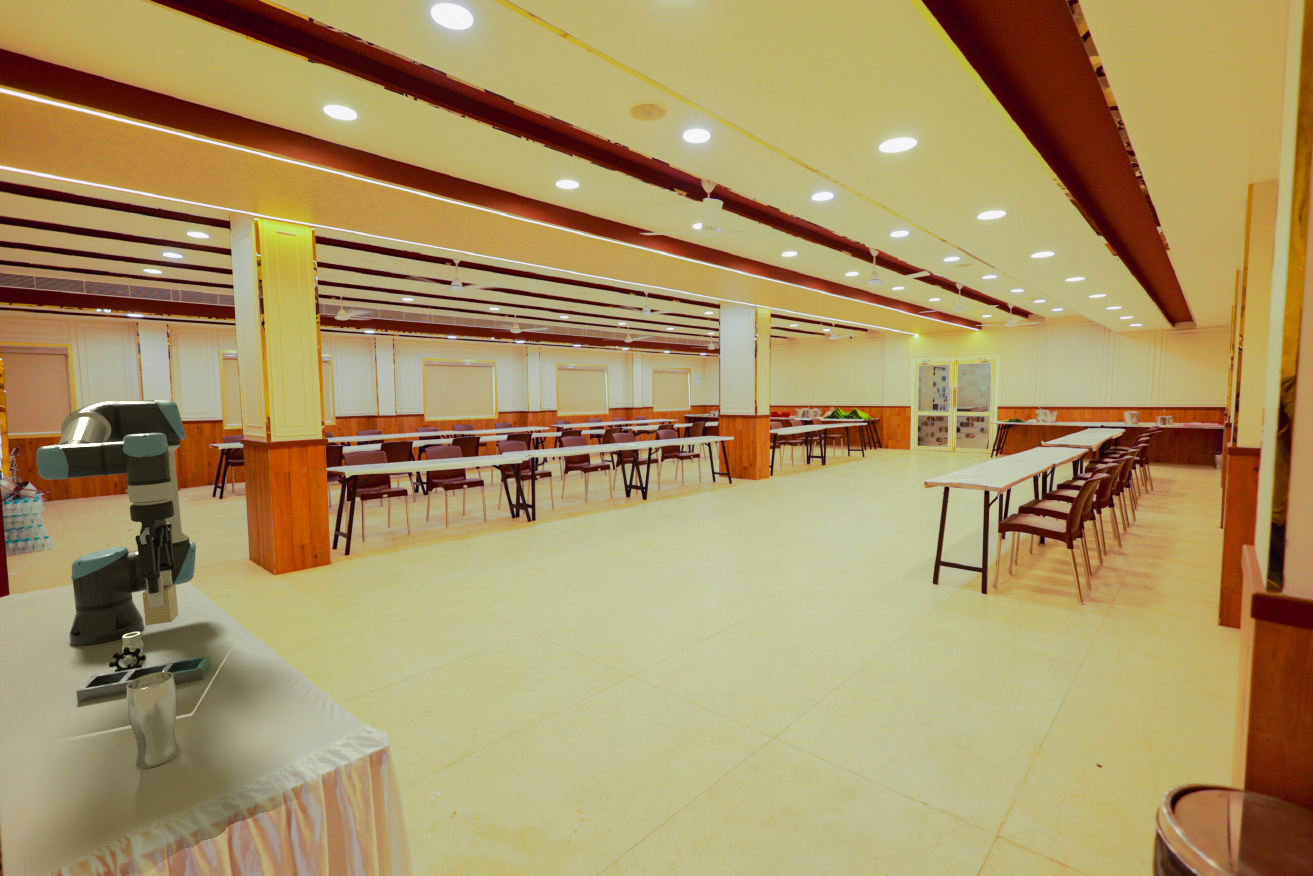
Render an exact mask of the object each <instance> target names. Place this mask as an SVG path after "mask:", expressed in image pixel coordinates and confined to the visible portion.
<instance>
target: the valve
mask: <svg viewBox="0 0 1313 876" xmlns="http://www.w3.org/2000/svg"><path fill="white" fill-rule="evenodd" d="M141 634H142V633H141V631H137V632H132V633H128V634H125V635H124V636H123V637H122V638H121V639H122V646H121V652H122V653H121V654H120V653H119V652H114V653H113V655H112V658H113V659H115V661H111V662H109V664H108V666H109V668H116V669H115V670H114V672H119V671H125V670H131V669H137V668H143V667H144V666H143V663H140V662H141V661H145V660H146V659H147V655H146V654H143V651H144V647H145V645H144V641H143V640H142V635H141ZM120 660H122V663H123V665H125V666H126V665H127V667H124V666H121V665H120V664H119V661H120ZM135 660H136V662H135V663H134V664H133V665H132V663H133V662H134V661H135Z"/></svg>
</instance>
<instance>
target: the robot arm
mask: <svg viewBox="0 0 1313 876" xmlns="http://www.w3.org/2000/svg"><path fill="white" fill-rule="evenodd" d="M60 431H61V434H62V435H61V437H60V439H59V442H58V443H57V444H52V445H46V446H45V445H44V446H40V447H38V449H37V450H36V458H35V459H36V468H37V472H38V476H39V477H40V478H41V479H44V480H49V481H50V480H63V481H64V480H67V479H78V478H86V477H87V478H88V477H101V476H111V475H125V474H126V478H127V482H126V483H127V488H126V489H125V492H126V494H128V500H129V503H131V505H130V506H129V514H130V520H131V521H132V522H133V523H141V525H140V527H141V528H140V529H139V534H138V535H135V537H134V538H135V539H134V540H135V543H136V545H137V550H132V551H129V549H128V547H126V546H118V547H117V546H115V547H110V548H109V547H108V548H106V549H101V550H97V551H94V552H90V553H88V554H84V555H82V556H80V557H78V558H76V559H75V560H73V562H72V563H71V577H70V578H71V580H72V585H73V586H72V588H73V595H74V606H75V616H74V619H73V622H72V624H71V628H70V631H69V642H70V644H72V645H74V646H75V645H76V646H89V645H96V644H102V643H103V644H104V643H107V642H112V641H116V640H119V639H122V637H123V636H124V635H125V634H128V633H132V632H140V630H142V629H143V628H144V618H143V617H142V614H141V613H140V611H139V610H138V608H137V606H136V604H135V603H134V600H133V593H137V592H138V593H139V592H144V591H146V590H147V595H148V605H149V608H150V607H158V606H164V605H165V600H164V590H163V585H170V584H175V585H182V584H186V583H189V582H191V581H192V579H193V578H194V576H195V568H196V565H195V564H196V553H197V552H196V551H197V550H196V549H197V546H196V542H194V541H190V536H188V535H187V534H185V533H183V531H182V529H183V528H182V519H181V511H180V509H181V508H180V497H179V489H178V478H177V477H178V476H177V469H176V468H177V466H176V455H175V454H176V453H175V452H176V450H177V449H179V448H180V447H181V441H183V440H185V439H186V437H187V436H186V432H185V429H184V426H183V421H182V417H181V414H180V410H179V406H178V404H177V402H175V401H173V400H168V399H167V400H166V399H160V400H159V399H153V400H152V399H150V400H149V399H148V400H119V401H116V400H115V401H114V400H113V401H112V400H111V401H110V400H109V401H101V402H97V403H93V404H89V405H86V406H83V407H81V408H78V409H77V410H74V411H73V412H71V413H70V414H68V415H67V416H66V417H65V419H64V420H63V421H62V424H61V427H60Z"/></svg>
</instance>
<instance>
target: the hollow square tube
mask: <svg viewBox="0 0 1313 876" xmlns="http://www.w3.org/2000/svg"><path fill="white" fill-rule="evenodd" d="M176 589H177V587H176V585H175V584H170V585H163V590H164V600H165V605H164V606H158V607H150V608H149V605H148V595H147V590H144V591H142V602H143V612H144V621H145V622H144V623H145V626H151V625H152V626H153V625H159V624H166V623H172V622H173V621H174V620H175V619H176V618H177V617H178V616H179V610H178V599H177V590H176Z"/></svg>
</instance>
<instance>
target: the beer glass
mask: <svg viewBox="0 0 1313 876" xmlns="http://www.w3.org/2000/svg"><path fill="white" fill-rule="evenodd" d="M176 686H177V685H175V681H174V676H173V673H171V672H157V673H152V674H148V675H145V676H142V677H139V678H137V679H135V680H133V681H131V682H130V683H129V684H128V685H127V686H126V688H127V694H126V711H127V717H128V721H129V724H130V727H131V729H132V732H133V735H134V738H135V741H136V745H137V755H136V761H135V762H136V763H135V765H136V767H137V768H139V769H142V770H143V769H145V770H146V769H152V768H155V767H160V766H162V765H164V764H167V763H168V762H170V761H172V760H173V759H175V758H176V757H177V756H179V754H180V747H179V745H178V742H177V740H176V720H177V713H178V692H177V687H176Z"/></svg>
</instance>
